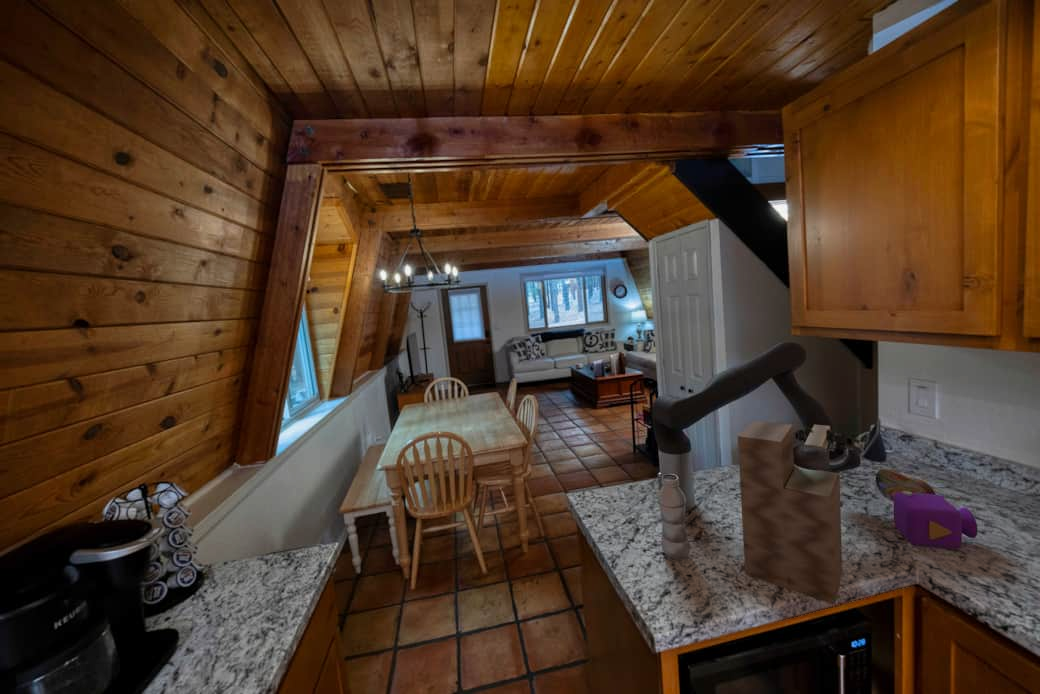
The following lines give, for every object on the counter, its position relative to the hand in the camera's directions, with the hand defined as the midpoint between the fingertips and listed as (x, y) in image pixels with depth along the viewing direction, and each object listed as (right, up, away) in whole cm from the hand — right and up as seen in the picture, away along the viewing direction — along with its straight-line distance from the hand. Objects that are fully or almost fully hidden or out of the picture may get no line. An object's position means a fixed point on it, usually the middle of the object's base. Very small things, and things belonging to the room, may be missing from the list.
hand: (818, 433), depth 91 cm
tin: (+38, -24, +19) cm, 49 cm away
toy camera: (+31, -26, +5) cm, 40 cm away
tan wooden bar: (-2, -4, -3) cm, 5 cm away
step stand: (-7, -30, -2) cm, 31 cm away
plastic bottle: (-29, -32, +9) cm, 44 cm away
